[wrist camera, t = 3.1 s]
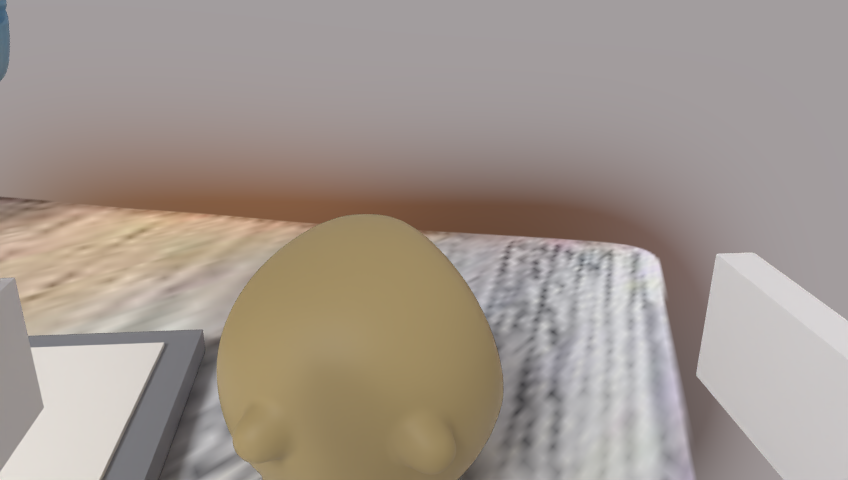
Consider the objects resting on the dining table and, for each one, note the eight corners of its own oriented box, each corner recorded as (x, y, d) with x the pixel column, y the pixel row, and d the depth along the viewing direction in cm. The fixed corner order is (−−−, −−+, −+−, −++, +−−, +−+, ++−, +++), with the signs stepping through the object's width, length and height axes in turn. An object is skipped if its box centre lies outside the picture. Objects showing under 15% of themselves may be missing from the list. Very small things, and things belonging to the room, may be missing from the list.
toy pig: (483, 549, 29) (495, 305, 34) (511, 526, 18) (522, 171, 23) (246, 526, 30) (290, 289, 34) (137, 490, 19) (222, 151, 23)
